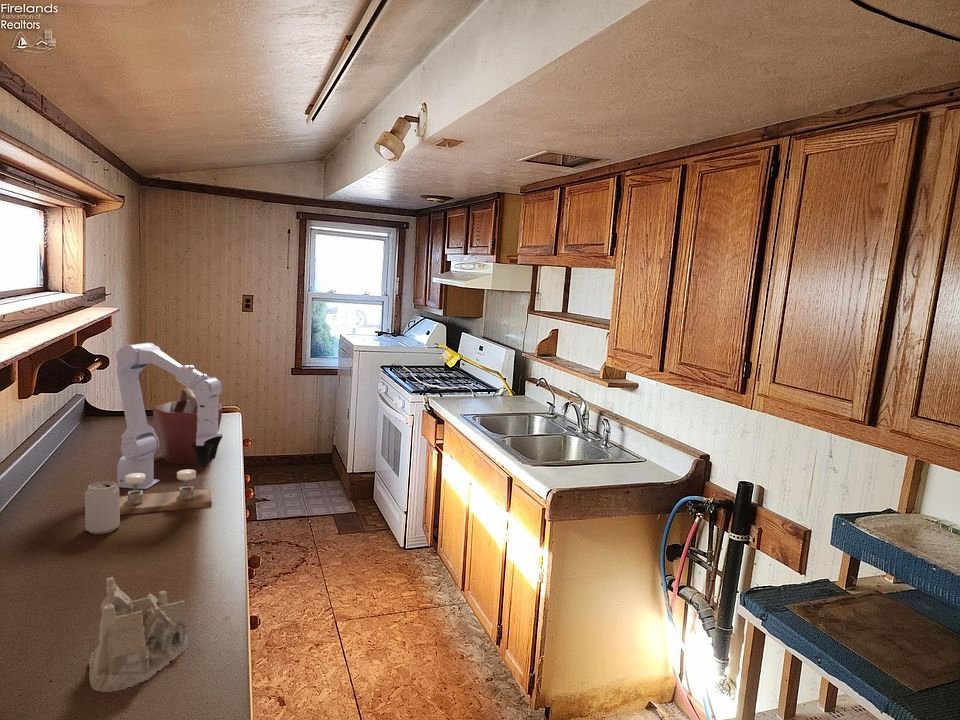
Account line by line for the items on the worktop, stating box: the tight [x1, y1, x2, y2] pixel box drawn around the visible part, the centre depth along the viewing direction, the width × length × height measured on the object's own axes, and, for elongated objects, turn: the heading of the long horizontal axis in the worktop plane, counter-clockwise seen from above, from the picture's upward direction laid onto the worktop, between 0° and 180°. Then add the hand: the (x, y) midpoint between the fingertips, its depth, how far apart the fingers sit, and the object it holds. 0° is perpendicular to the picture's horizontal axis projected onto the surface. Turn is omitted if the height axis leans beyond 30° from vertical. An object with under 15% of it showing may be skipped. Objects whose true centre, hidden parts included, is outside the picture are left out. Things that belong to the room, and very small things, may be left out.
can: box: [84, 480, 121, 535], centre depth 157 cm, size 8×8×12 cm
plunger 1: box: [125, 473, 146, 491], centre depth 173 cm, size 5×5×4 cm
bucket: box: [152, 387, 223, 465], centre depth 218 cm, size 24×22×25 cm
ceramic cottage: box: [88, 576, 190, 693], centre depth 107 cm, size 16×16×15 cm
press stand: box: [119, 485, 213, 516], centre depth 176 cm, size 26×11×4 cm, turn 116°
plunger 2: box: [176, 469, 197, 487], centre depth 178 cm, size 5×5×4 cm
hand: (207, 462), depth 185 cm, fingers open, 7 cm apart
